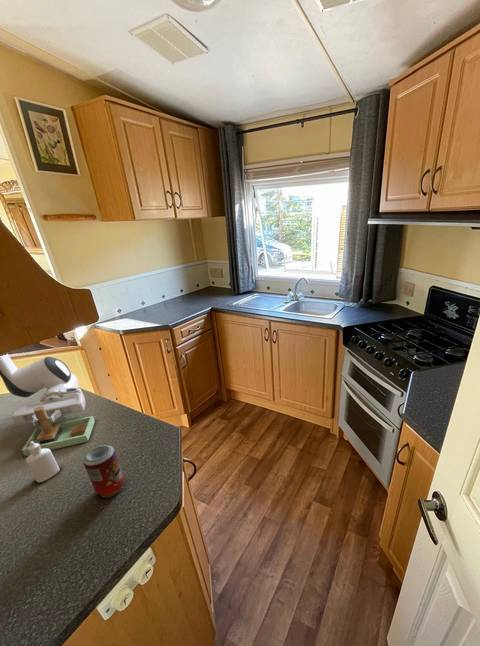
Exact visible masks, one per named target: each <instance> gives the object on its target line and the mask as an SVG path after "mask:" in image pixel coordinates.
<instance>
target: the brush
mask: <svg viewBox="0 0 480 646" xmlns="http://www.w3.org/2000/svg"><path fill="white" fill-rule="evenodd" d="M34 412H35V414H36V417H37V419H38V421H39V423H40V425H39V426H40V427H42V431H41V432H40V434H39V436H38V437H37V441H38V442H40V444H45V443H50V442H54V441H57V439H58V437H59V435H60V433H61V431H62V430H61V427H60V423H61V422H59V421H58V422H51V423H48V421H47V418H48V416H47V413H46V411H45V409H44V407H37V408H35V409H34Z"/></svg>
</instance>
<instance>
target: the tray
mask: <svg viewBox="0 0 480 646" xmlns="http://www.w3.org/2000/svg"><path fill="white" fill-rule="evenodd" d="M95 422H96V421H95V417H94V415H91V416H85V417H81V418H77V419H72V420H67V421H62V422H60V427H61V430H62V431H61V433H60V435H59V437H58V439H57V441H54V442H50V443H45V444H40V442H38V441H37V437H38V436H39V434H40V432H41V431H42V427H41V426H38V427H35V428H34V430H33V431H32V433H31V435H30V437H28V439H27V441H26V442H25V444H24V446H23V448H22V449H21V451H22V453H23V455H24V457H26V456H27V457H28V456H30V455H31V453H30V452H29V450H28V447H29V446H30V442H31V441H33V442H34V443H38V444H39V445H40V447H41V449H44V448H48V449H49V450H51V451H52V450H57V449H61V448H65V447H69V446H74V445H78V444H83V443H86V442H89V440H90V437H91V434H92V432H93V428H94V425H95ZM83 424H87V427H86V430H85V433H84V434H83V435H79V436H74V437H72V436H71V431H72V429H73V427H74V426H78V425H83Z"/></svg>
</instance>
